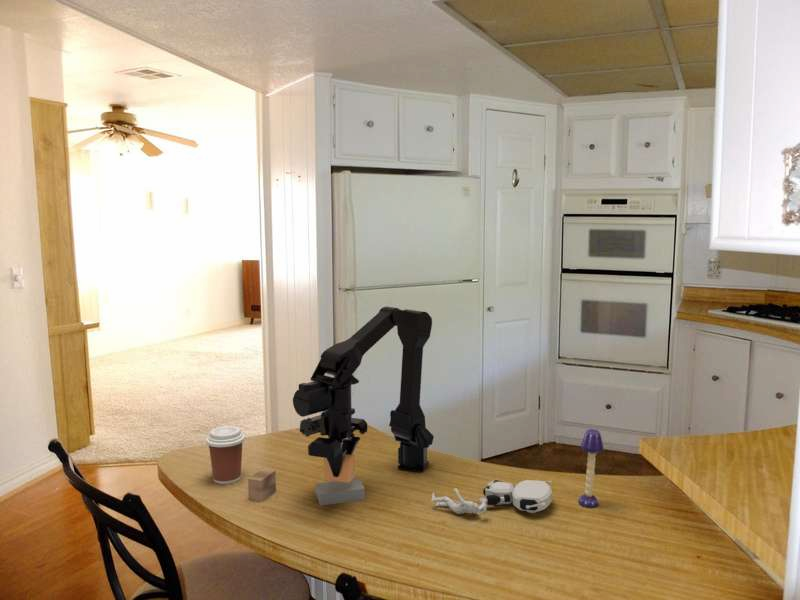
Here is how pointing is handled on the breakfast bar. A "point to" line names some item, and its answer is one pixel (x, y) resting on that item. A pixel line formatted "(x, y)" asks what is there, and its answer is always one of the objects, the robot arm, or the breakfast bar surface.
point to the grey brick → (339, 492)
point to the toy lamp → (590, 465)
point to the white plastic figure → (460, 504)
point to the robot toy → (519, 494)
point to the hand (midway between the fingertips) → (339, 473)
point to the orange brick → (346, 470)
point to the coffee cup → (226, 453)
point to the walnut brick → (262, 484)
